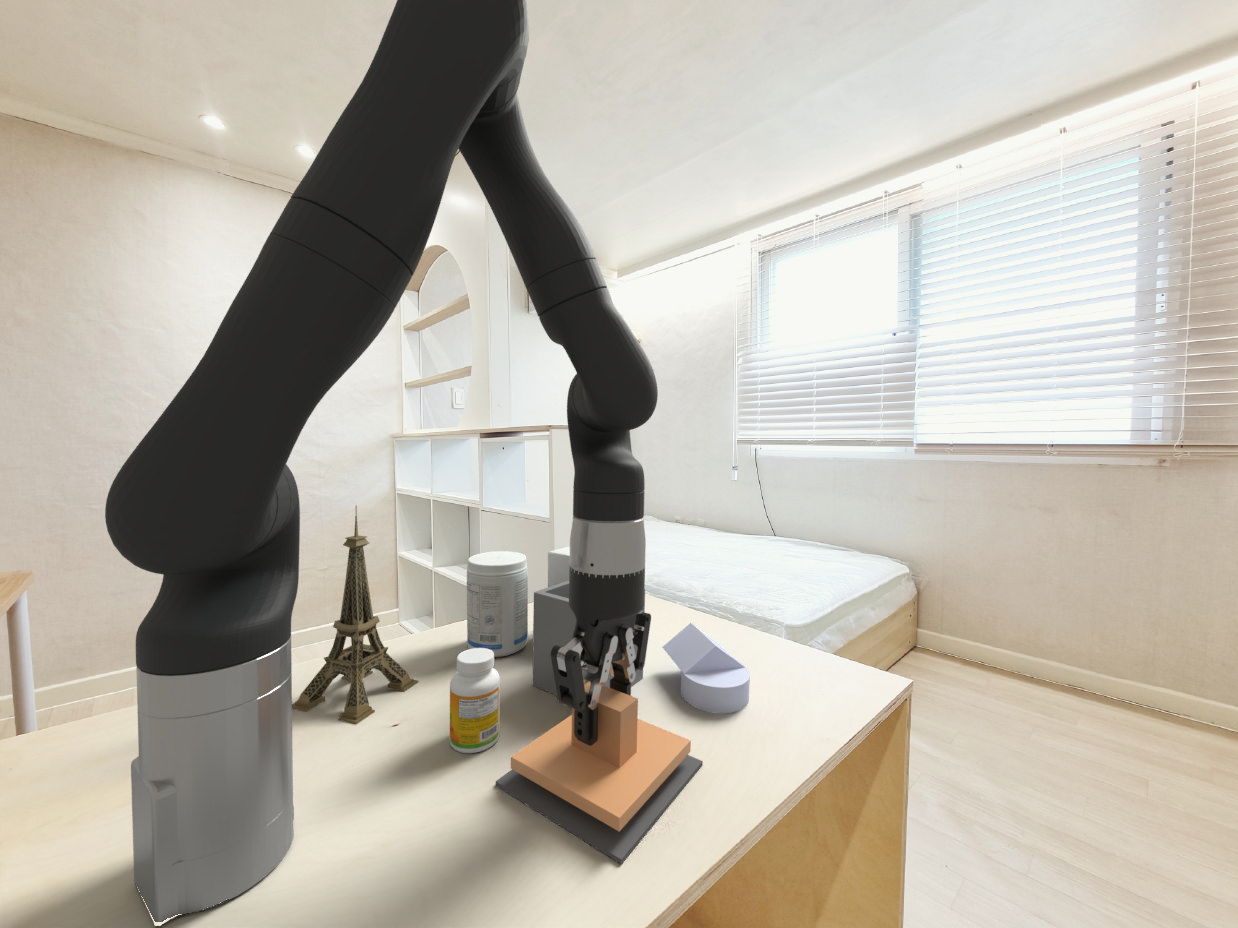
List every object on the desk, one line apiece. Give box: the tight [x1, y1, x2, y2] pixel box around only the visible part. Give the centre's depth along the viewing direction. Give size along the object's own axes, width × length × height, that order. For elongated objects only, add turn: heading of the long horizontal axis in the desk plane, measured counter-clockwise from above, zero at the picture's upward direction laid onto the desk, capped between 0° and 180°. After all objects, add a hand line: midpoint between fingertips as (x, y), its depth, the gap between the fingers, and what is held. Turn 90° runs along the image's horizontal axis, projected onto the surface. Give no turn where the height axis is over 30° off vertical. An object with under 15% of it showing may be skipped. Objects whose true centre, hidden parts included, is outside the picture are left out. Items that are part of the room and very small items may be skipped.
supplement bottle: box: [449, 648, 501, 754], centre depth 55 cm, size 5×5×10 cm
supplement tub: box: [466, 550, 529, 658], centre depth 79 cm, size 10×10×15 cm
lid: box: [510, 681, 692, 832], centre depth 49 cm, size 13×13×8 cm
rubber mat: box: [495, 754, 703, 865], centre depth 50 cm, size 15×15×1 cm
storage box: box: [532, 580, 646, 697], centre depth 68 cm, size 11×11×13 cm
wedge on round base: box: [662, 622, 751, 714], centre depth 68 cm, size 9×7×13 cm
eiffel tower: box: [292, 504, 419, 725], centre depth 63 cm, size 11×11×25 cm
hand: (603, 726), depth 49 cm, fingers open, 5 cm apart
